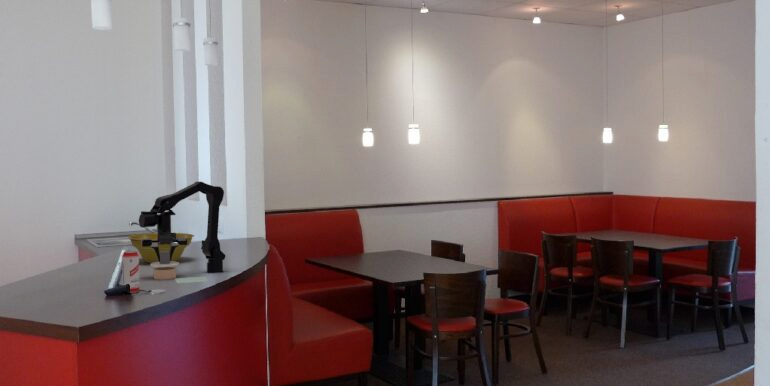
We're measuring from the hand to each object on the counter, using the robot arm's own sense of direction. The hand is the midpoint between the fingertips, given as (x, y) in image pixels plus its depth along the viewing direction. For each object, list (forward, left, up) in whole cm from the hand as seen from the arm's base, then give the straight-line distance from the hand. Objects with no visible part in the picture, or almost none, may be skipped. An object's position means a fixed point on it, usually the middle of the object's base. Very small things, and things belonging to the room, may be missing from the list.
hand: (164, 261), depth 316 cm
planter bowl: (-3, -56, -8) cm, 57 cm away
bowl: (0, 0, -8) cm, 8 cm away
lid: (0, 0, -1) cm, 1 cm away
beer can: (+15, +29, -8) cm, 34 cm away
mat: (-10, +11, -8) cm, 17 cm away
